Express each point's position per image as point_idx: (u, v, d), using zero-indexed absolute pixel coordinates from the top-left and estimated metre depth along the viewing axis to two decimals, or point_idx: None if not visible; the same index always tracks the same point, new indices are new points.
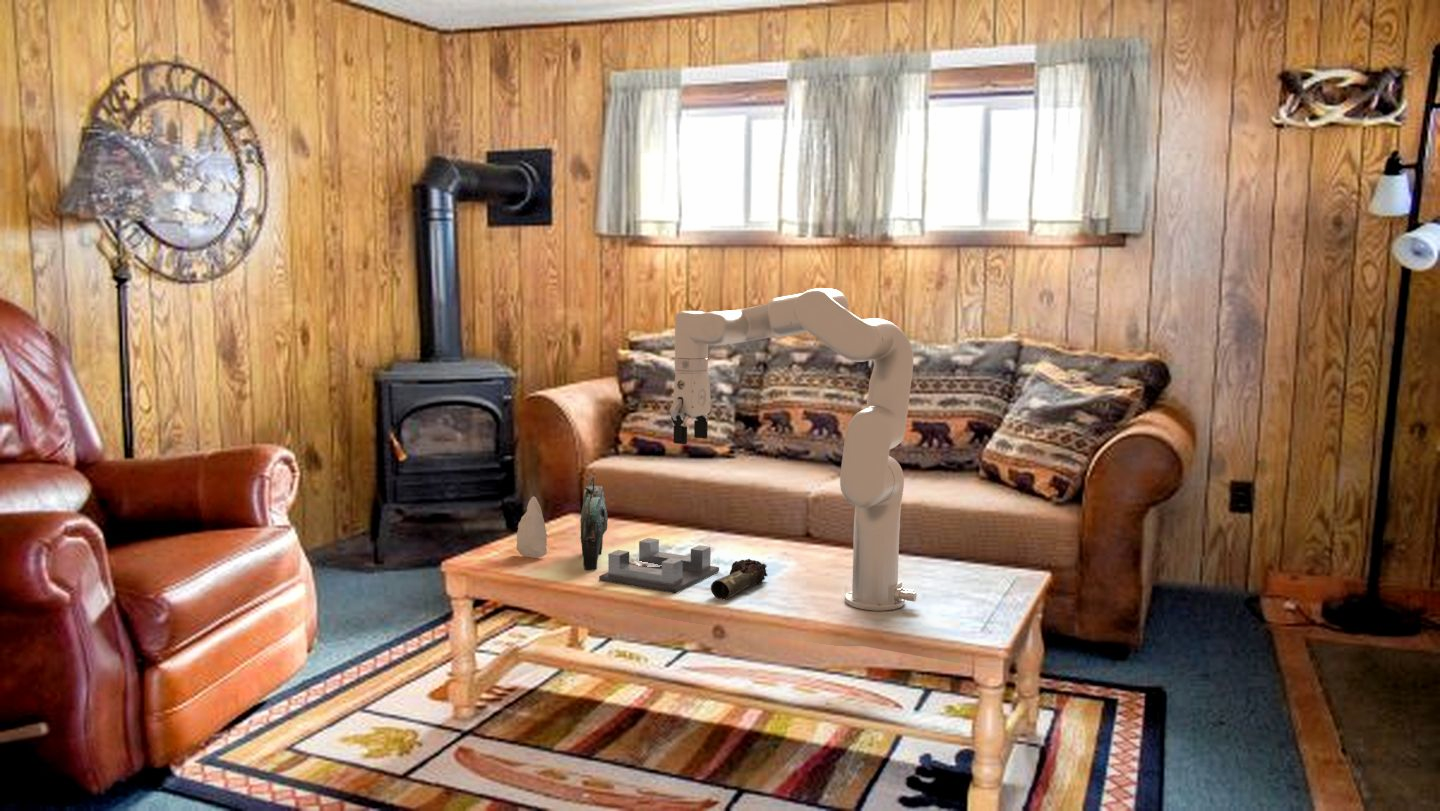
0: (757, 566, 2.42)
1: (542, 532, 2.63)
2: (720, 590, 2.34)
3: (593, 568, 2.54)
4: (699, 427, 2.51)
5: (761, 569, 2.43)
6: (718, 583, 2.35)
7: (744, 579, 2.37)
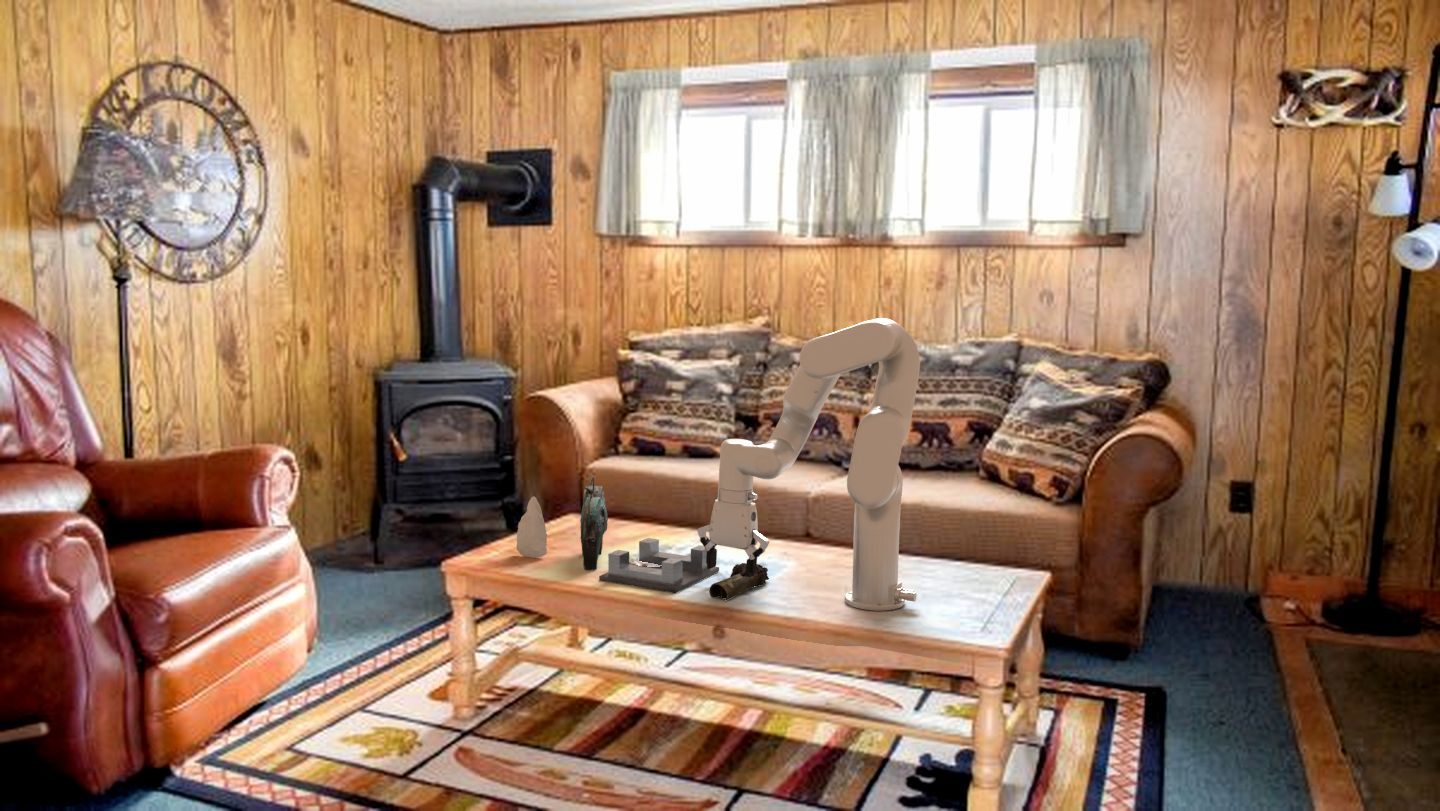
0: (758, 569, 2.42)
1: (542, 532, 2.63)
2: (719, 593, 2.34)
3: (593, 568, 2.54)
4: (713, 557, 2.42)
5: (762, 573, 2.42)
6: (717, 586, 2.35)
7: (744, 583, 2.36)
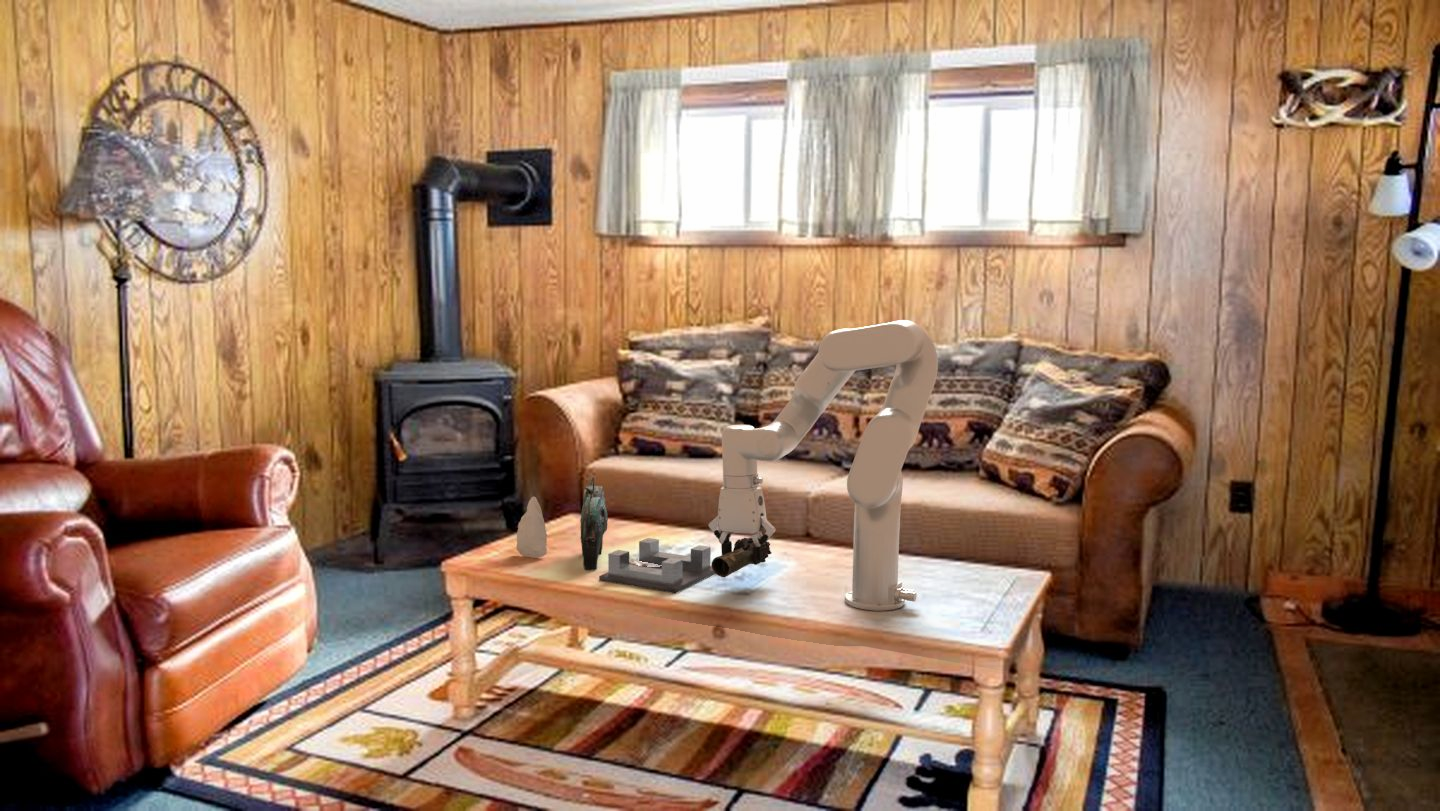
0: None
1: (542, 532, 2.63)
2: (721, 567, 2.34)
3: (593, 568, 2.54)
4: (728, 549, 2.40)
5: (764, 547, 2.42)
6: (719, 560, 2.34)
7: (746, 556, 2.36)
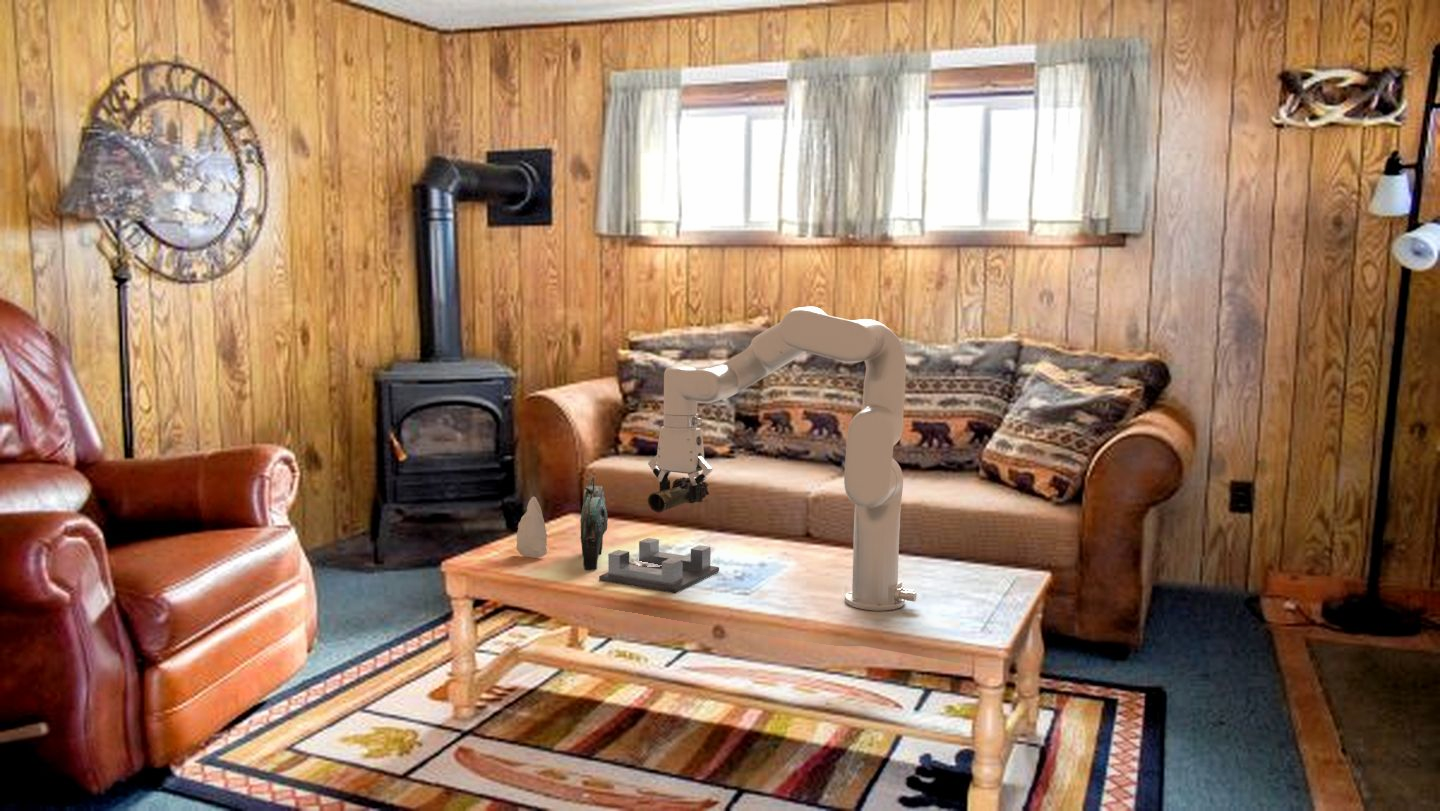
0: None
1: (542, 532, 2.63)
2: (657, 503, 2.39)
3: (593, 568, 2.54)
4: (666, 487, 2.46)
5: (701, 487, 2.47)
6: (655, 497, 2.40)
7: (682, 494, 2.41)
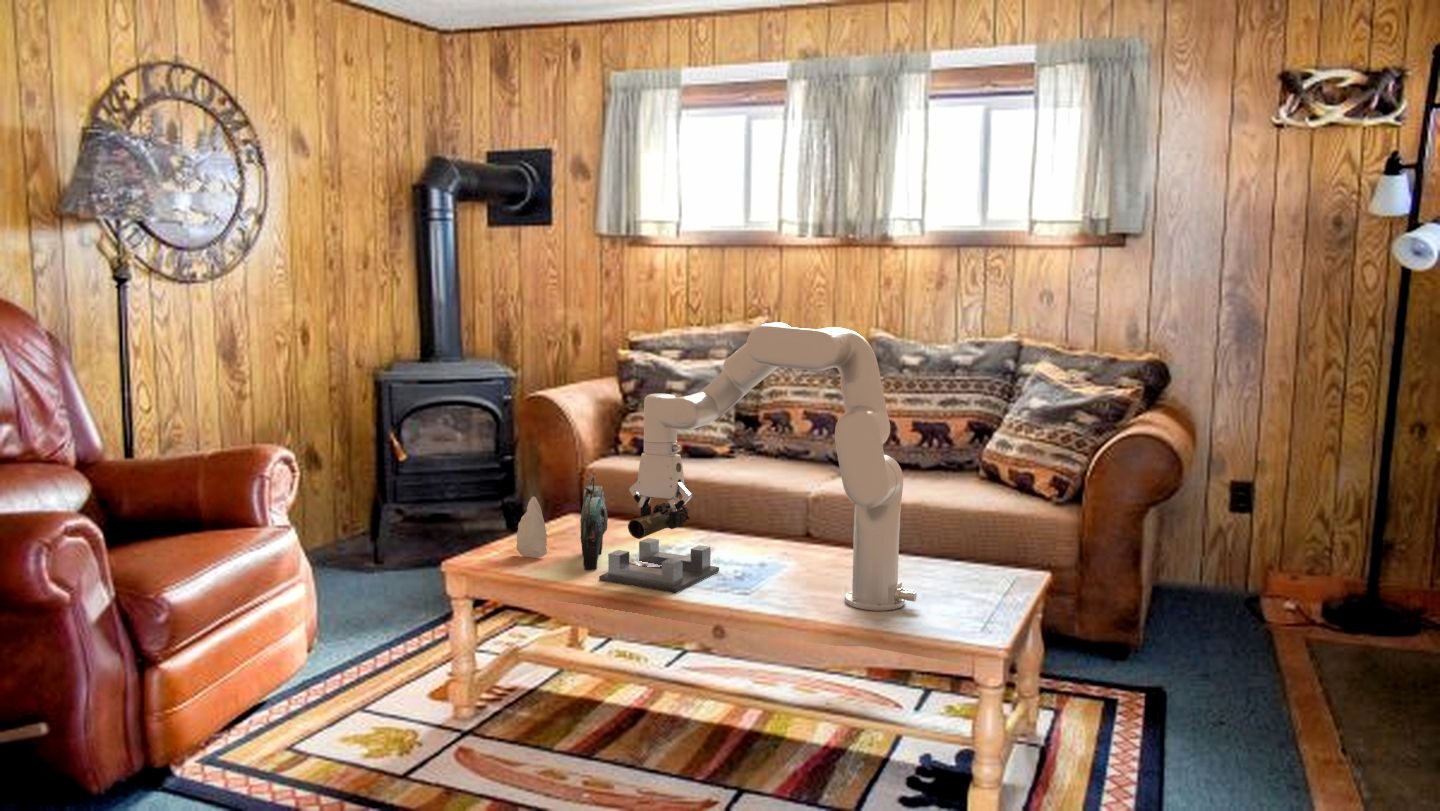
0: None
1: (542, 532, 2.63)
2: (637, 529, 2.43)
3: (593, 568, 2.54)
4: (647, 513, 2.49)
5: (682, 512, 2.50)
6: (636, 523, 2.43)
7: (662, 520, 2.45)
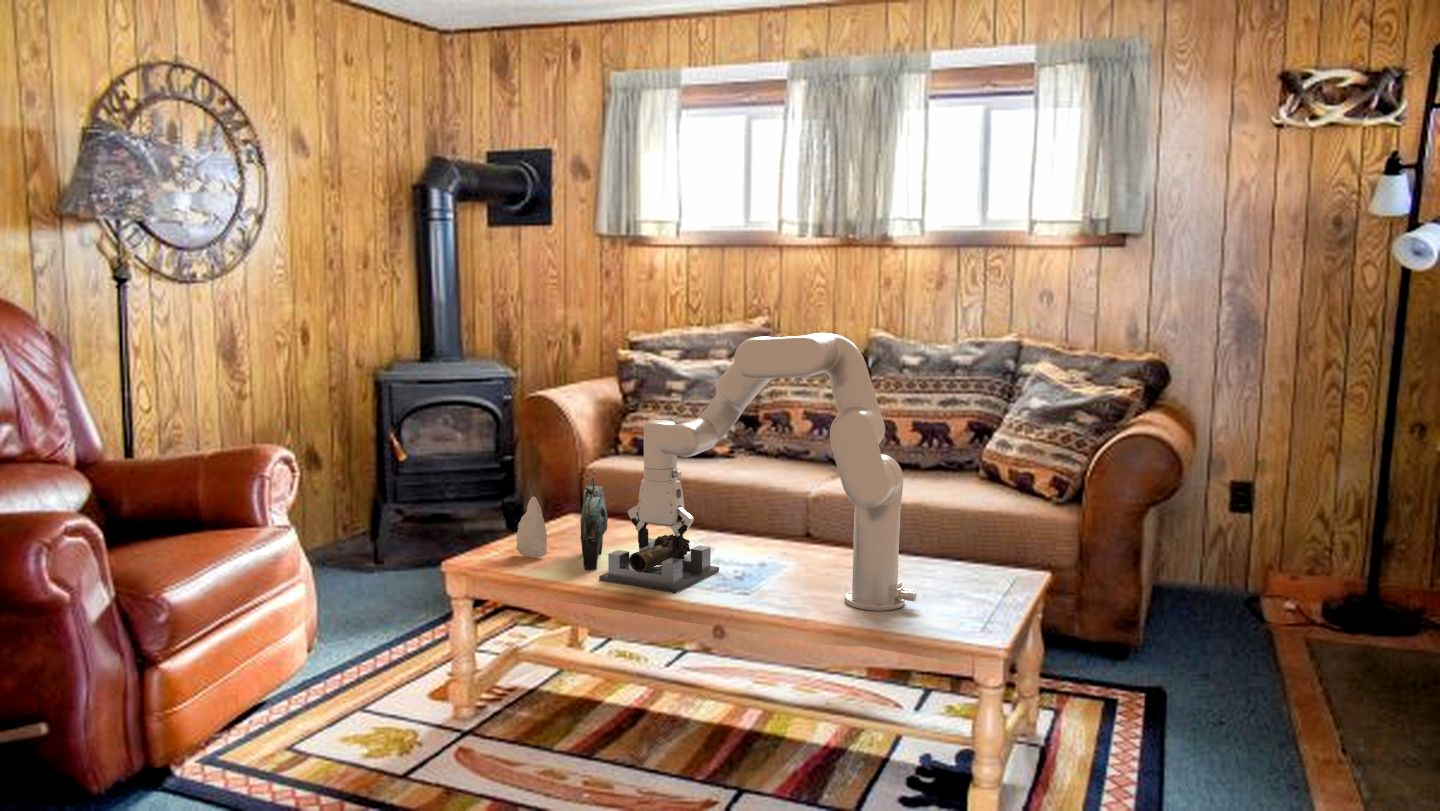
0: None
1: (542, 532, 2.63)
2: (639, 563, 2.44)
3: (593, 568, 2.54)
4: (644, 536, 2.50)
5: (683, 544, 2.51)
6: (637, 556, 2.44)
7: (663, 553, 2.46)
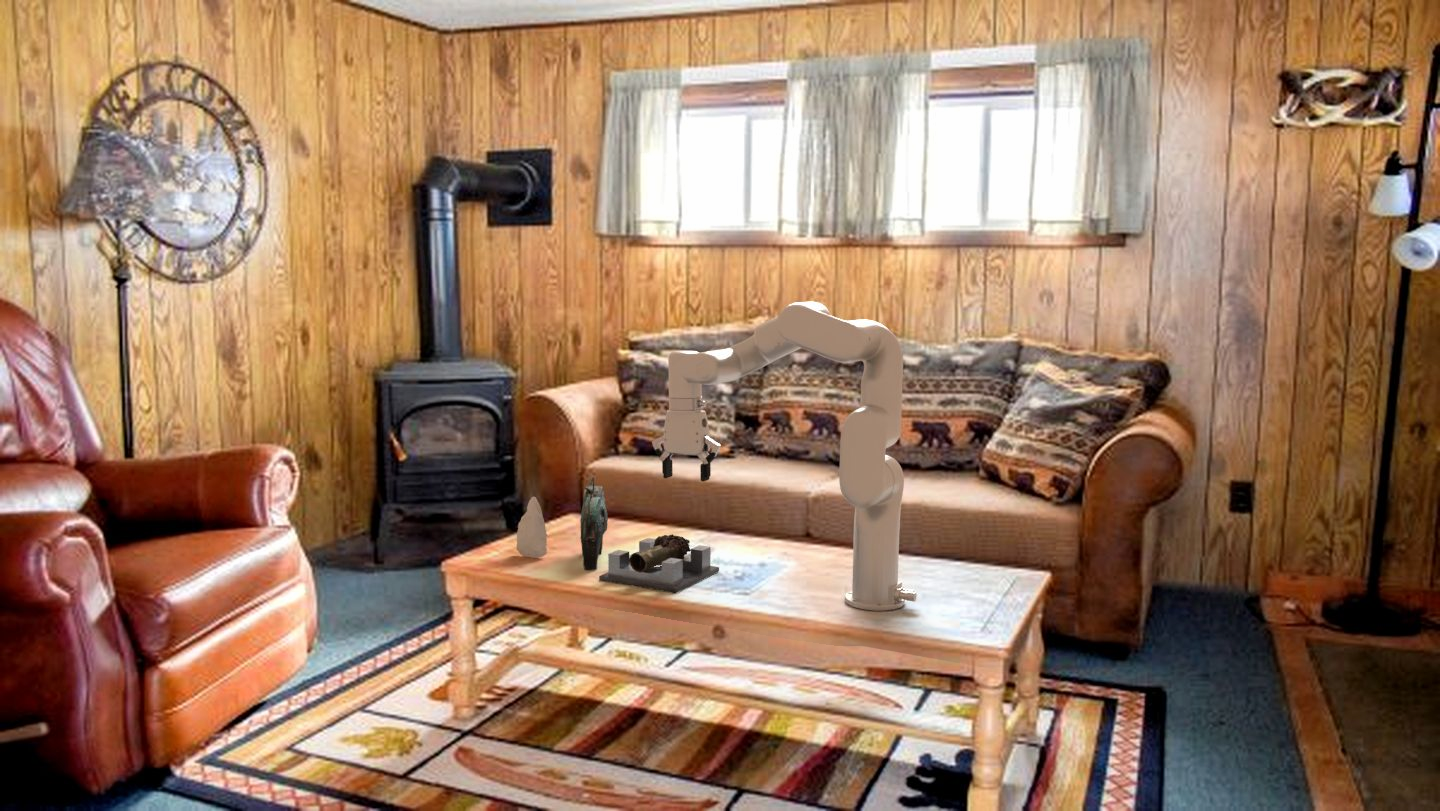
0: (679, 541, 2.51)
1: (542, 532, 2.63)
2: (639, 563, 2.44)
3: (593, 568, 2.54)
4: (669, 467, 2.51)
5: (683, 544, 2.51)
6: (637, 556, 2.44)
7: (663, 553, 2.46)
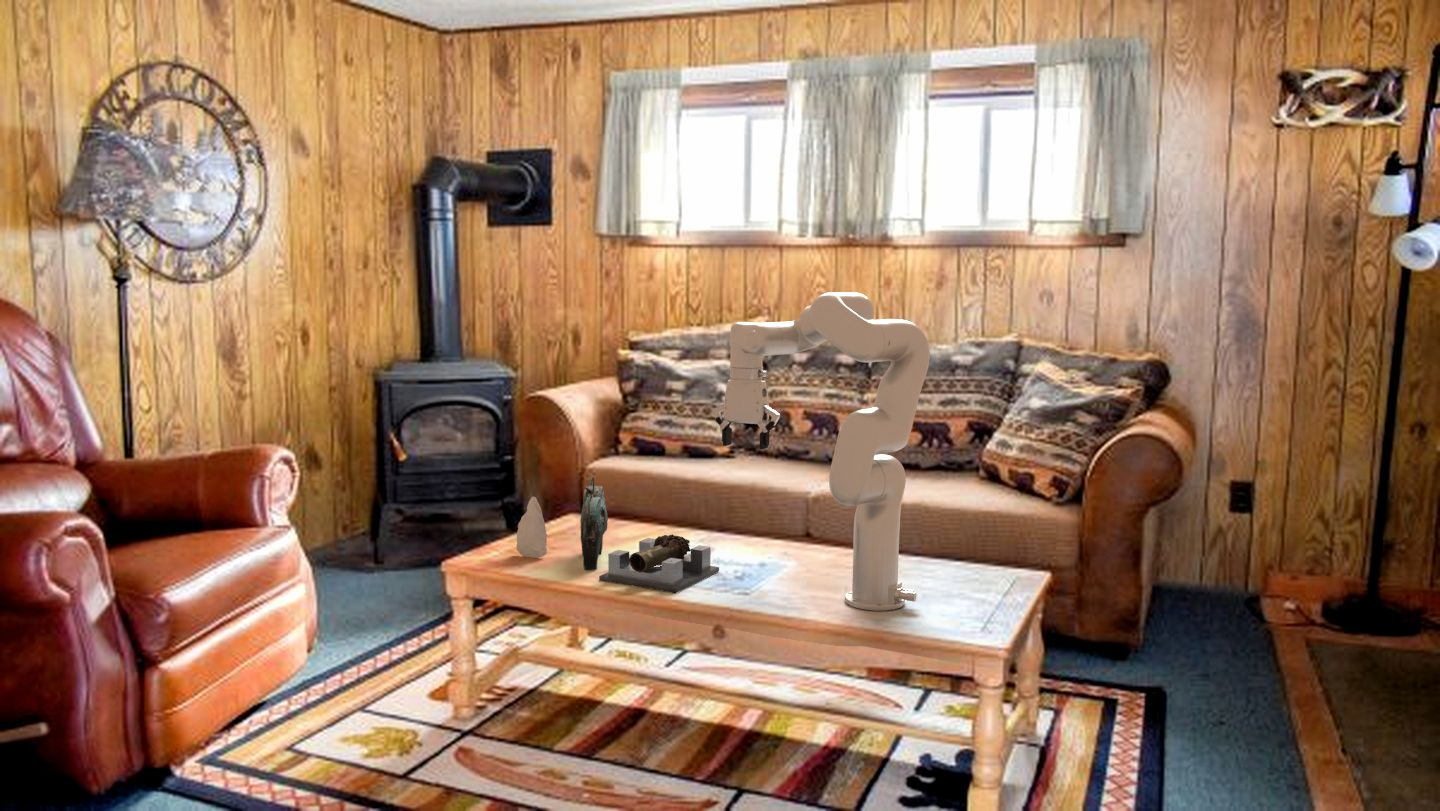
0: (679, 541, 2.51)
1: (542, 532, 2.63)
2: (639, 563, 2.44)
3: (593, 568, 2.54)
4: (728, 435, 2.59)
5: (683, 544, 2.51)
6: (637, 556, 2.44)
7: (663, 553, 2.46)
